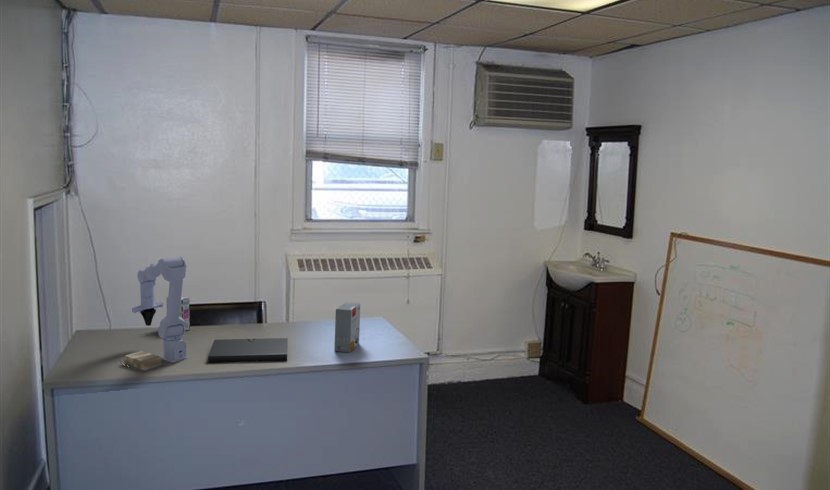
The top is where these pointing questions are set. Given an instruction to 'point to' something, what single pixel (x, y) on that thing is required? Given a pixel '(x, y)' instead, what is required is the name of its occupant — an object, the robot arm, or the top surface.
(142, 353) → the maple block
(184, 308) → the candy bar box
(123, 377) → the top surface
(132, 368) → the mat
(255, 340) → the closed laptop
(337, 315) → the hard drive box
